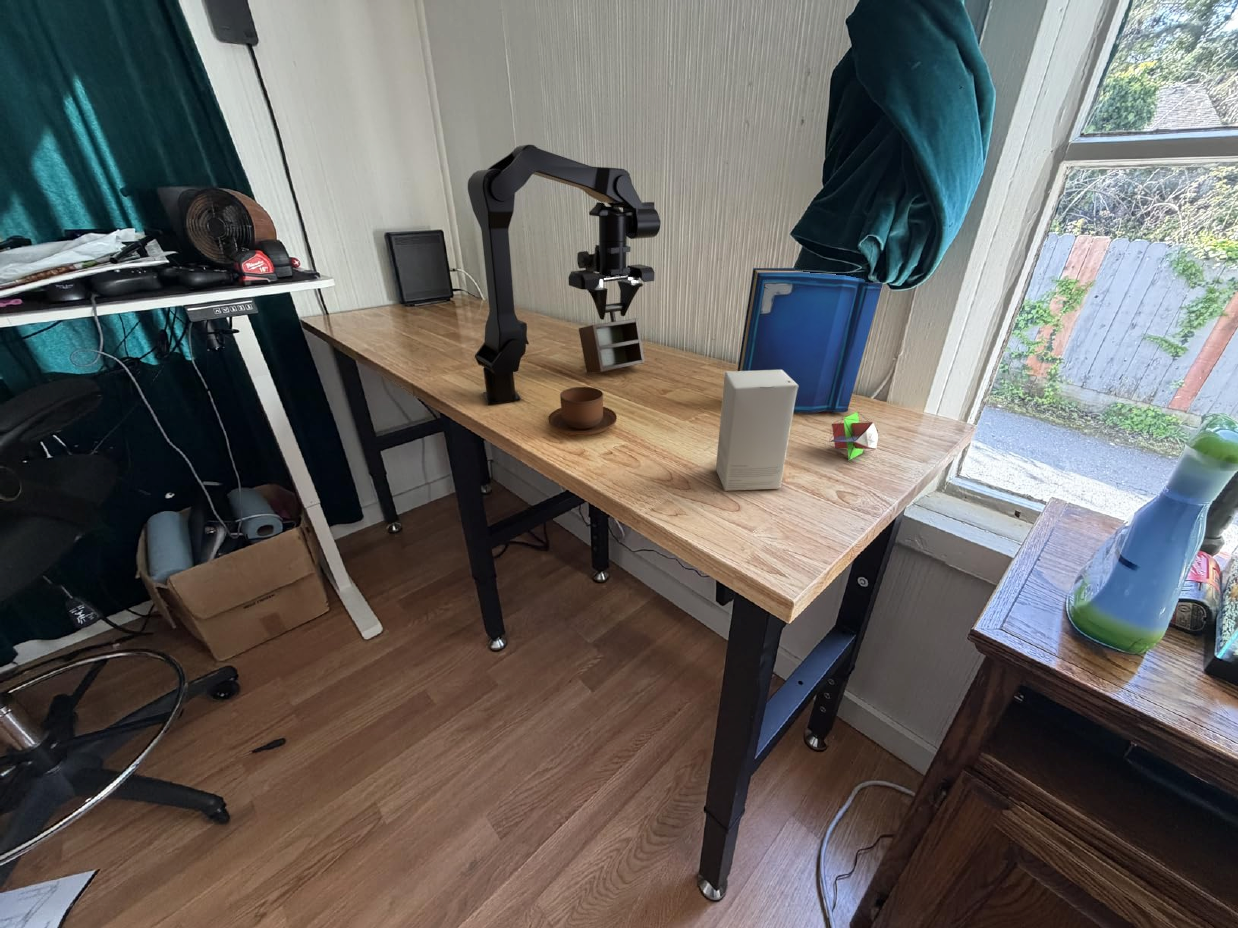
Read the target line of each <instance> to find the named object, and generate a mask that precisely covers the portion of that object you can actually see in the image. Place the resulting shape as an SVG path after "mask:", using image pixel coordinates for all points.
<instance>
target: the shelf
mask: <svg viewBox="0 0 1238 928" xmlns="http://www.w3.org/2000/svg"><path fill="white" fill-rule="evenodd" d="M622 310H623V304H622V303H621V302H620V301H619V302H613V303H606V312H605V314H608V313H609V318H610V321H609V322H604V323H596V324H591V325H585V326H583V327H579V328H578V333H579V338H580V344H581V350H582V356H583V360H584V366H585V372H586V374H591V373H592V374H593V373H602V372H608V371H613V370H617V369H621V368H626V367H630V366H636V365H640V364H645V363H646V361H645V355H644V349H643V341H642V333H641V328H640V321H639V317H636V318H629V319H623V320H617V318H616V312H620V311H622Z"/></svg>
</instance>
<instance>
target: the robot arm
mask: <svg viewBox="0 0 1238 928" xmlns="http://www.w3.org/2000/svg"><path fill="white" fill-rule="evenodd" d="M533 175H534V176H536V177H537V176H538V177H541V178H545V179H547V180H551V181H554V182H558V183H561V184H563V185H568V186H570V187H574V188H577V189H580V190H581V191H583V192H584V193H585V194H587V195H588V196H589V197H591V198H593V199H595V200H596V201H598V202H596V203H595V205H594V206H593V208H591V209H590V210H589V212H588V215H589V216H591V217H598V244H595V247H594V253H589V251H588V250H584V251H583V250H581V251H579V252H577V257H576V258H577V259H576V261H577V262H576V263H577V267H578V269H580V270H571V271H570V273H569V275H568V286H569V287H572V288H576V289H579V290H581V291H582V290H583V291H584V290H586V291H587V292H588V293H589V295H590V296H591V298H592V300H593V303H594V305H595V309H596V312H597V314H598V317H599V319H600V320H601V321H604V320H605V317H606V313H605V312H606V304H607V301H608V300H607V298H608V291H609V289H608V288H606V287H604V283H606V282H609V283H610V282H617V284H618V287H619V292H620V294H619V303H620V302H621V303H622V304H623V310H622V311H619V313H620V314H619V315H620V316H621V317H625V316H626V314H627V312H628V310H629V308H630V306H631V304H632V302H633V300H634V298H635V296H636V294H637V293H638V291H639V289H640V288H641V287H643V286H644V284H643V283H649V282H655V278H656V277H655V276H656V275H655V270H654V268H653V266H648V265H645V264H640V263H639V264H638V263H637V264H627V259H628V257H627V253H631V246H630V245H628V239H629V240H637V239H650V238H651V239H652V238H655V237H656V236H658V234H659V232H660V228H661V224H662V223H661V219H660V215H659V212H658V210H656V208H655V201H643V202H642V200H641V198H640V197H639V195H638V192H637V191H636V189H635V186H634V185H633V182H632V181H633V180H632V178H631V175H630V172H629V171H628V170H626V169H624V168H619V167H606V166H591V165H588V164H586V163H582V162H580V161H576V160H573V159H571V158H567V157H565V156H562V155H559V154H556V153H553V152H550V151H547V150H544V149H541V148H538V147H537V146H536V145H534V144H523V145H519V146H515V148H514V149H513V150H512V151H511V152H510V153H509V154H507V155H506V156H504V157H503V158H501V159H500V160H498V161H497V162H495V163H494V164H492V165H491V166H489V167H488V168H487V169H480V170H476V171H475V172H473V173H472V175H471V176H470V177H469V178H468V181H467V193H468V197H469V200H470V201H469V202H470V204H471V209H472V212H473V214H474V216H475V218H476V221H477V223H478V225H479V227H480V230H481V240H482V247H483V248H482V250H483V260H484V268H485V269H484V270H485V279H486V289H487V298H488V308H489V311H488V316H487V318H486V322H485V327H484V342H483V344H482V345H481V346H480V347H479V349H478V350H477V351H476V353H475V355H474V358H475V361H476V362H477V364H478V365H479V366H481V367H483V368H482V372H483V379H484V386H485V391H483V392H482V393H481V394H482V397H483V398H484V400H485V402H486V404H487V405H488V406H492V405H498V404H499V405H500V404H505V403H511V402H518V401H521V395H520V394H519V393H518V392H517V391H516V385H515V374H514V373H517V372H519V369H520V364H521V361H522V358H523V356H524V355H525V354H526V351H527V346H528V345H530V342H529V341H528V337H527V335H528V334H527V333H528V324H527V322H526V321H522V320H519V319H518V317H517V315H516V311H515V298H514V285H513V272H512V260H511V259H512V258H511V247H510V234H509V230H510V225H511V222H512V219H513V215H514V212H515V199H516V193H517V192H519V190H520V189H521V188H523V187H524V186H525V185H526V183H527V182H528V181H529V180H530V178H531V177H532V176H533ZM605 203H606V204H608V205H609V206H606V204H605ZM640 280H641V281H642V282H643V283H641V282H640Z"/></svg>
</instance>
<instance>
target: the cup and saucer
mask: <svg viewBox="0 0 1238 928" xmlns="http://www.w3.org/2000/svg"><path fill="white" fill-rule="evenodd" d="M559 398H560V407H559V408H557V409H555V410H553V411H552V412H550V414H549V415H548V417H547V420H548V423H549V425H550V427H552V428H553V429H554V430H556V431H557V432H559V433H561V434H565V435H570V436H578V437H579V436H580V437H581V436H593V435H596V434H600V433H603V432H605V431H608V430H609V429H611V428H612V427H613V426H614V425H615V424H616V422H617V417H618V416H617V414H616V412H615V411H613V410H612V409H611V408H609V407H607V406H604V393H603V391H602V390H601V389H599V388H595V387H589V386H576V387H575V386H574V387H570V388H567V389H564V390H563V391H562V392H560V393H559Z"/></svg>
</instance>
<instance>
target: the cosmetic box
mask: <svg viewBox="0 0 1238 928" xmlns="http://www.w3.org/2000/svg"><path fill="white" fill-rule="evenodd" d="M798 387H799V386H798V385H797V384H796V383H795V382H794V381H793V380H792V379H791V378H790V377H789V376H788V375H787V374H786V373H785V372H784V371H783V370H759V371H738V370H733V371H730V370H728V371H724V377H723V389H722V399H721V408H720V409H721V410H720V420H719V431H718V440H717V452H716V461H715V470H716V473H717V475H718V478H719V480H720V482H721V485H722V487H723V490H724V491H725V492H727V491H728V492H731V491H751V490H753V491H754V490H779V489H780V488H782V487H781V486H782V482H783V475H784V469H785V464H786V463H785V462H786V456H787V453H788V452H787V451H788V445H789V440H790V439H789V438H790V432H791V428H792V423H793V422H792V421H793V416H794V413H793V411H794V405H795V399H796V394H797V390H798Z"/></svg>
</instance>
